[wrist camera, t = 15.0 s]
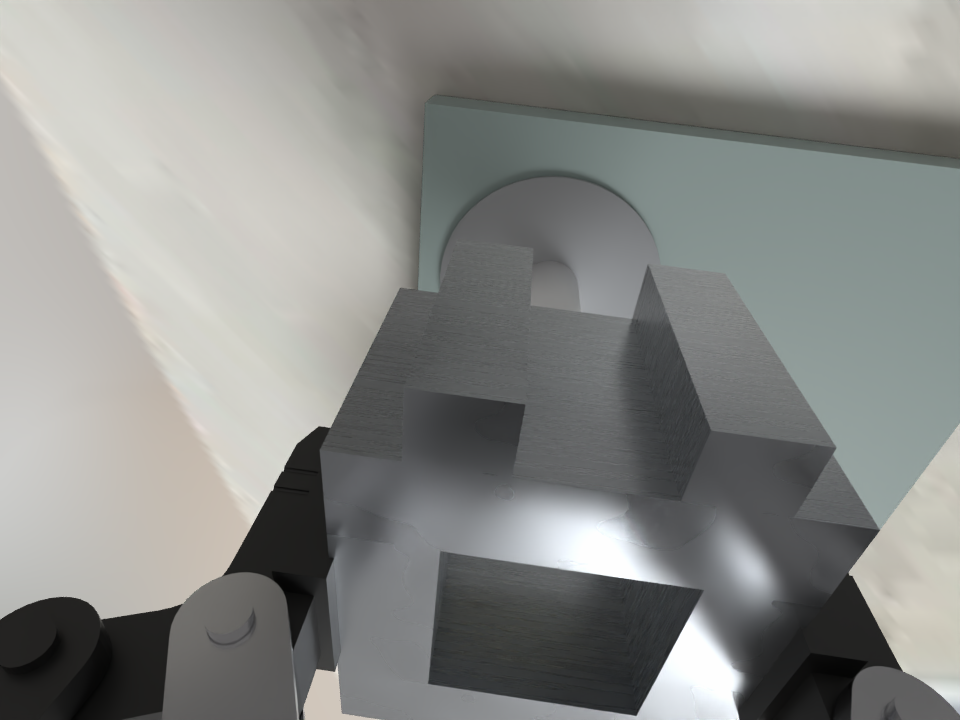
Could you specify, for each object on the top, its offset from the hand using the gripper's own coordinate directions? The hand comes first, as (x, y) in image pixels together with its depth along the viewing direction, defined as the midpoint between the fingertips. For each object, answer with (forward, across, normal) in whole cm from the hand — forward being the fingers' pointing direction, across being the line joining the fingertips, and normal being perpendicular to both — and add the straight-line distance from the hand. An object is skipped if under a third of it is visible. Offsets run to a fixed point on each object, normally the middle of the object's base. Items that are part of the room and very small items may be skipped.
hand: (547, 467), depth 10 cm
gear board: (+9, -5, +6) cm, 12 cm away
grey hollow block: (+1, 0, 0) cm, 1 cm away
